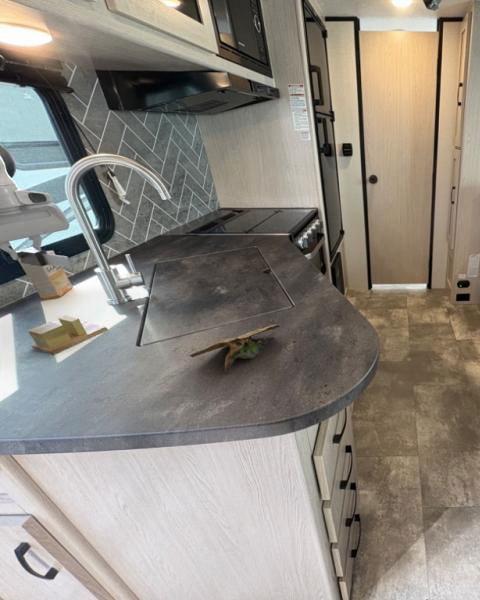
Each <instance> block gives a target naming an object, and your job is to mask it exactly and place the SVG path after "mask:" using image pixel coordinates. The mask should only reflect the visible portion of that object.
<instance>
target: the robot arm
mask: <svg viewBox="0 0 480 600" xmlns="http://www.w3.org/2000/svg"><path fill="white" fill-rule="evenodd" d="M15 159H16V158H15V157H14V156H13V155H12V153H11V152H10V151H8V150H7V149H6V148H5V147H4V146H2V145H1V144H0V250H3V251H4V252H6V253H8V254H9V255H10V257H11V258H12V260H14V261H18V260H20V259H23V258H25V257H24V256H23V254H22V252H21V251H15V250H14V249H12V248H11V246H12V245H11V243H10V242H13V241H18V240H23V239H29V241H32V246H31V247H29V248H30V249H38V250H42V243H43V238H42V237H41V236H43V235H47V234H52V233H57V232H61V231H66V230H69V228H70V221H68V218H67V217H66V215H65V213H64V212H63V211H62V209H61V208H60V207H59V206H58V205H57V204H55V203H54V202H53V197H52V195H51V194H50V193H48V192H42V191H33V190H29V189H20V188H19V187H18V185H17V183H16V182H15V180H13V178H14V177H15V174H16V173H17V162H16V160H15Z"/></svg>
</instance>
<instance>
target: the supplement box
mask: <svg viewBox="0 0 480 600" xmlns="http://www.w3.org/2000/svg"><path fill="white" fill-rule="evenodd" d="M45 251H46V252H47V254H52V255H56V253H55V251H54V250H45ZM17 261H18V263H19V264H20V266H21V267H22V269H23V271H24V272H25V274H26V276H27V278H28V279H29V281H30V283H31V284H32V286H33V287H34V289H35V291H36V292H37V294H38V296H39V298H40V299H41V300H50V299H57V298H61V297H62V296H64V295H65V294H66V293H67V292H68V291H70V290H72V289H73V284H72V283H71V281H70V279H69V277H68V275H67V274H66V272H65V270H64V268H62V267H56V266H49V265H45V266H36V265H30V264H23V263H22V262H21V260H20V259H19V260H17Z"/></svg>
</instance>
